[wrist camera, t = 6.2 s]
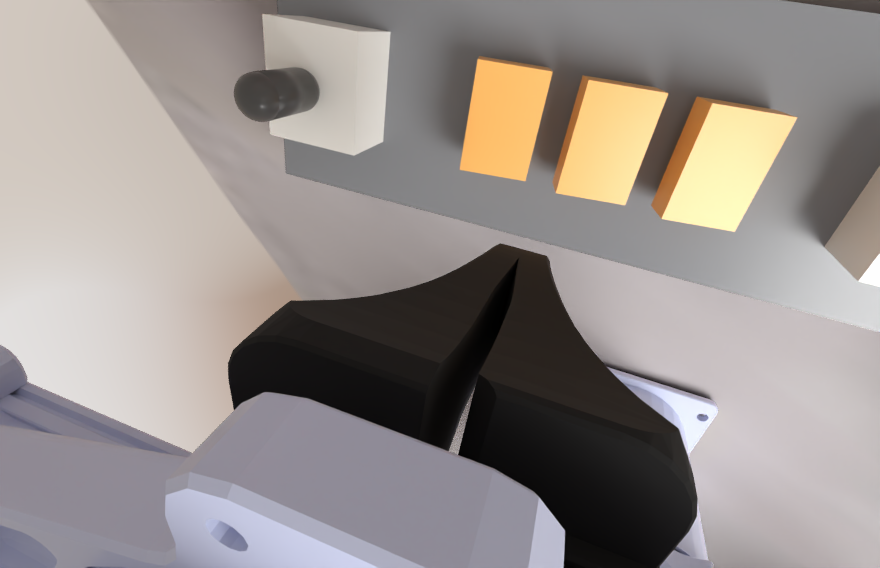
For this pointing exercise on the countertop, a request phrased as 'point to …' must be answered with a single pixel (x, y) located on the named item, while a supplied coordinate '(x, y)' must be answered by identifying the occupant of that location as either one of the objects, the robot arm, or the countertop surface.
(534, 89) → the switch
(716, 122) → the switch
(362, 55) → the left plug
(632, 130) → the middle switch
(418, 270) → the countertop surface
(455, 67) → the power strip
